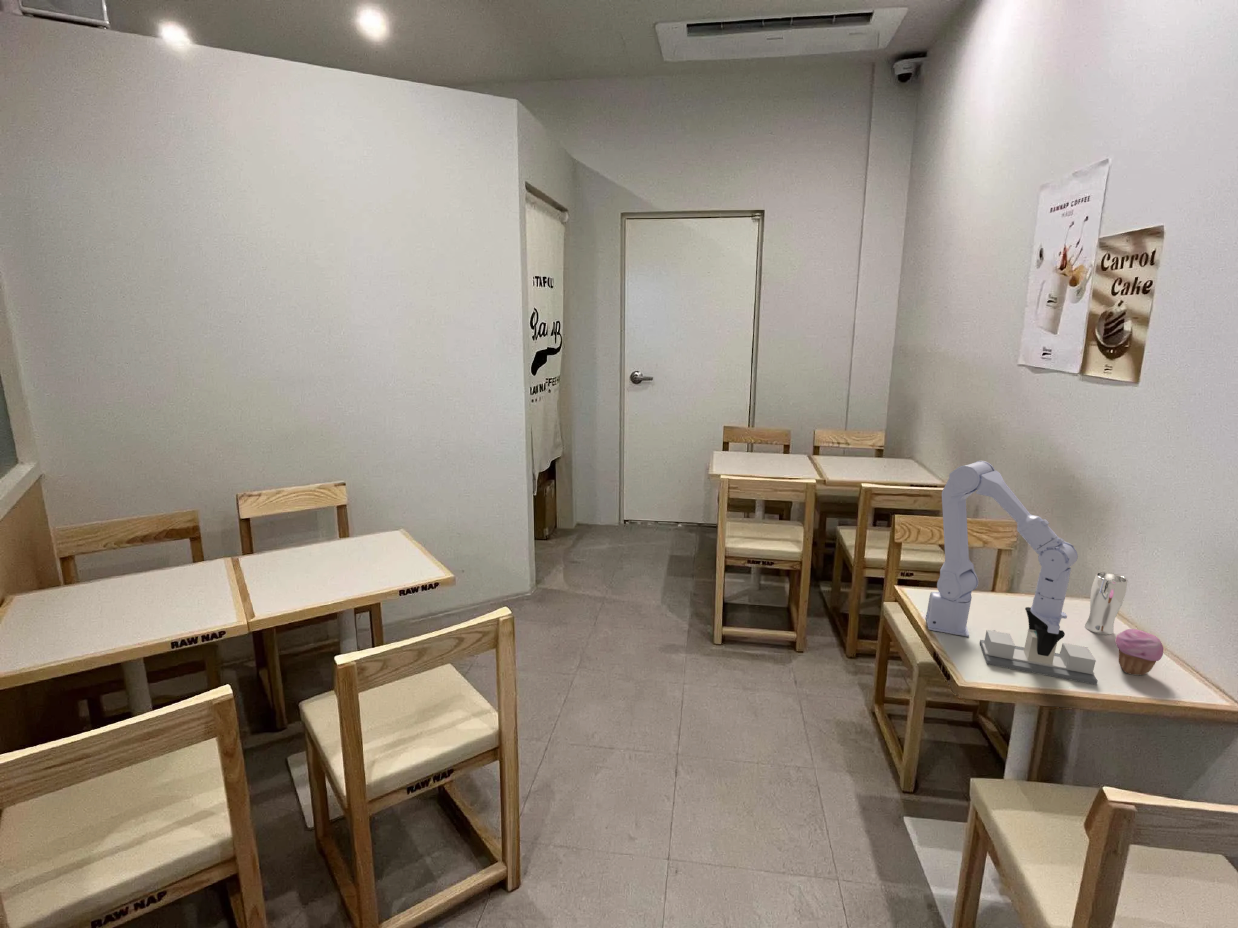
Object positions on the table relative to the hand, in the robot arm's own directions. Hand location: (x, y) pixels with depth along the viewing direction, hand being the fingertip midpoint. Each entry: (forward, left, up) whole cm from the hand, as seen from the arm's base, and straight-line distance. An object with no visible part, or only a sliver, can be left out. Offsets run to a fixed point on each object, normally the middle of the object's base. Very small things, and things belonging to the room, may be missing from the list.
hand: (1038, 646), depth 152 cm
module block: (0, 0, -3) cm, 3 cm away
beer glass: (+20, +25, -4) cm, 32 cm away
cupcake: (+21, +5, -4) cm, 22 cm away
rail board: (0, 0, -4) cm, 4 cm away
